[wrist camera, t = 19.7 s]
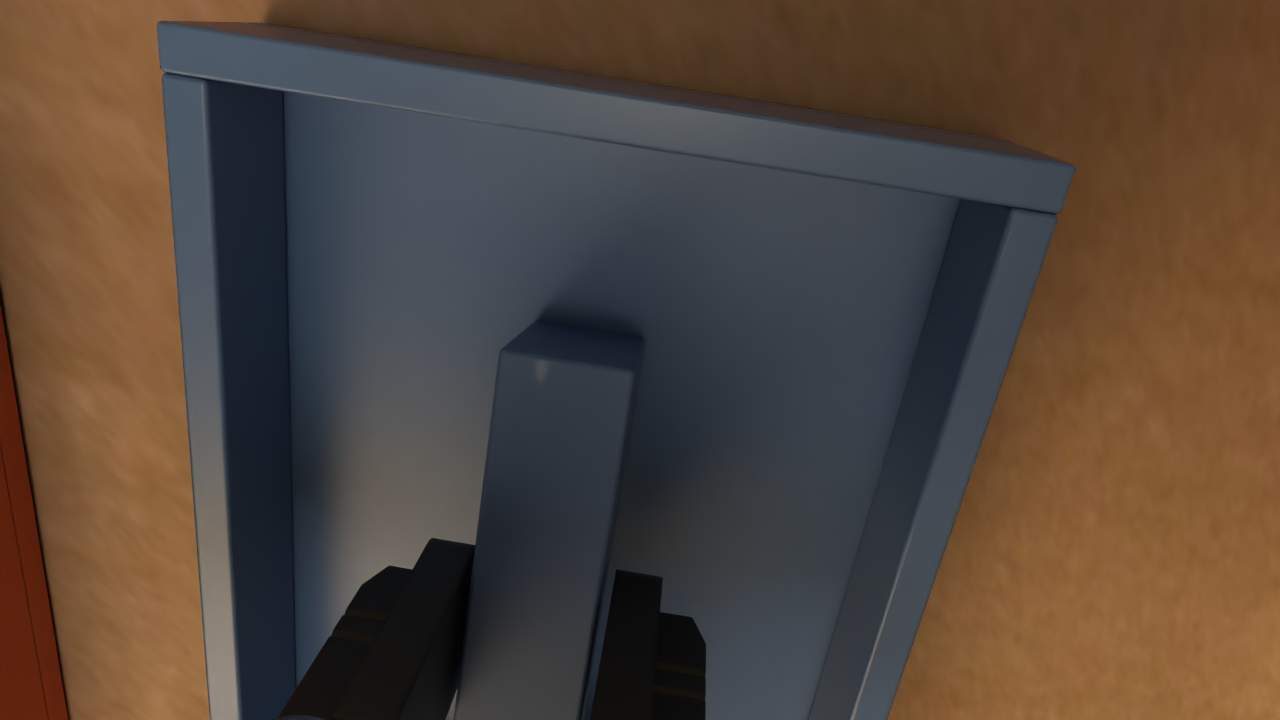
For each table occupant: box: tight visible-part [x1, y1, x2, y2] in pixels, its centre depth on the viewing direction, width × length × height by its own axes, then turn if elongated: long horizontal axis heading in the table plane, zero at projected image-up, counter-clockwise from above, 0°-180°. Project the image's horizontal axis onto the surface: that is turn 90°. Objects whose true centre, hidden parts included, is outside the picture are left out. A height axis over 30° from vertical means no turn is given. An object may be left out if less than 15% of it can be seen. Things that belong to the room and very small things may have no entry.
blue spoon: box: [454, 320, 645, 720], centre depth 13 cm, size 12×4×3 cm, turn 172°
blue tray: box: [157, 21, 1076, 720], centre depth 14 cm, size 15×11×2 cm
